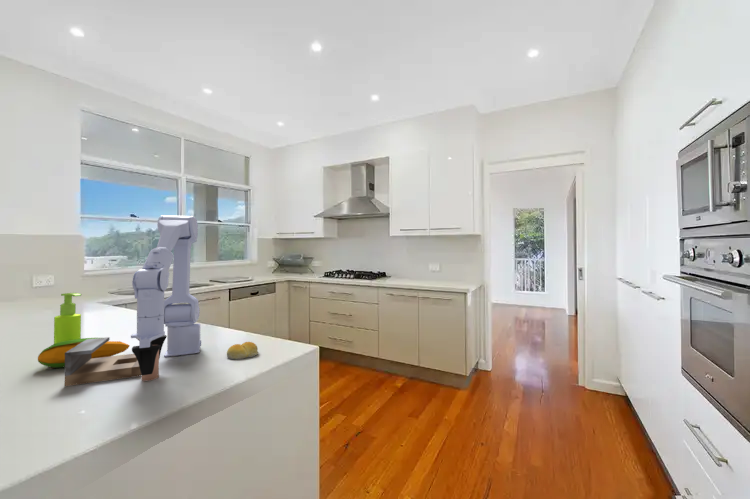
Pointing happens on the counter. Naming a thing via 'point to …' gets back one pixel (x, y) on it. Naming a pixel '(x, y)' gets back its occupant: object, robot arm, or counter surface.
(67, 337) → the soap dispenser
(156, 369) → the peg
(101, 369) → the socket station
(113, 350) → the corn
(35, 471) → the counter surface
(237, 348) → the bread roll
